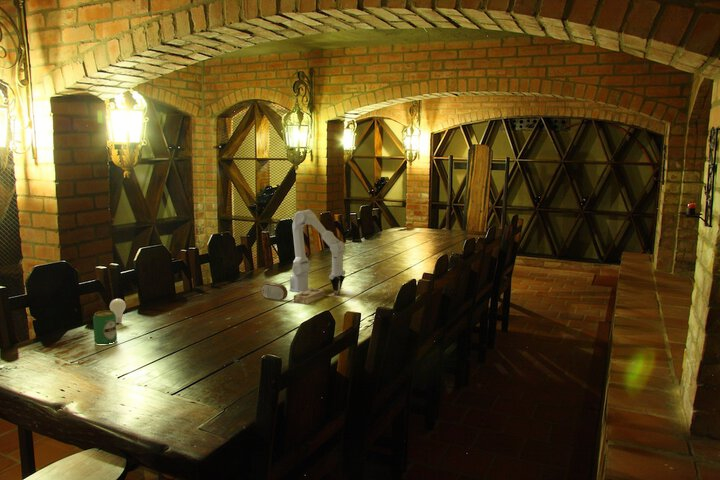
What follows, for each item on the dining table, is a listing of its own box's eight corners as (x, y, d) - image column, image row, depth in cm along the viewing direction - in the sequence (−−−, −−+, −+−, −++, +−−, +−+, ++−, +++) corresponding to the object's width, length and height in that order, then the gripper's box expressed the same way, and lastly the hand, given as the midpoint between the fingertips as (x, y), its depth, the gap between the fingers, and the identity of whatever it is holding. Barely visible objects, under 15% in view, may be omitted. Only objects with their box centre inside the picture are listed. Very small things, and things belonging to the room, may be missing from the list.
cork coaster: (326, 296, 288) (326, 295, 288) (334, 293, 295) (334, 292, 295) (340, 298, 284) (340, 297, 284) (347, 294, 291) (347, 294, 291)
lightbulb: (111, 326, 234) (109, 301, 232) (110, 322, 239) (108, 297, 238) (127, 324, 237) (125, 299, 235) (126, 320, 242) (124, 296, 240)
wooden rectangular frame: (293, 302, 275) (293, 295, 275) (311, 294, 291) (312, 287, 291) (307, 304, 272) (307, 297, 271) (325, 296, 288) (325, 289, 287)
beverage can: (102, 347, 209) (100, 317, 207) (90, 343, 213) (88, 313, 212) (121, 341, 216) (119, 312, 214) (109, 337, 220) (107, 308, 218)
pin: (333, 295, 289) (333, 277, 287) (335, 293, 291) (336, 276, 290) (338, 295, 287) (338, 278, 286) (340, 294, 290) (341, 277, 289)
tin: (287, 300, 279) (287, 284, 278) (284, 302, 276) (284, 285, 275) (263, 296, 285) (263, 281, 284) (259, 298, 282) (259, 282, 281)
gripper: (337, 268, 279) (337, 294, 281) (350, 263, 292) (350, 287, 294) (325, 266, 282) (325, 292, 284) (338, 261, 295) (338, 286, 297)
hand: (337, 290), depth 289 cm, fingers open, 3 cm apart
